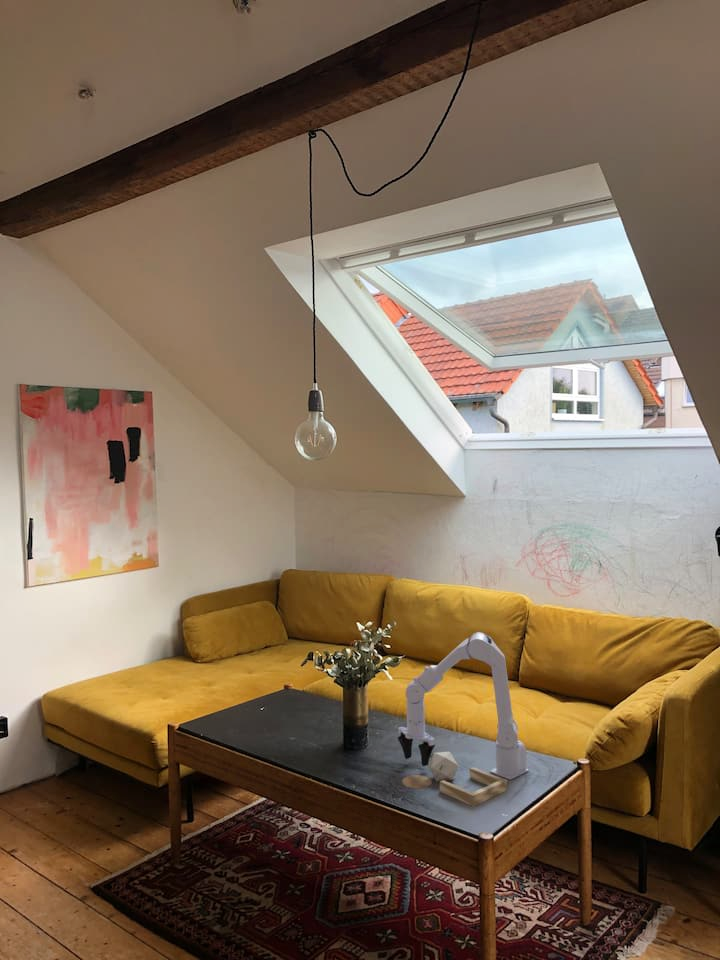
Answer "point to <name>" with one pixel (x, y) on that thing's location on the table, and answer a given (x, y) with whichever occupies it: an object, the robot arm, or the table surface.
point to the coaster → (417, 781)
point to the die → (443, 766)
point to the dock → (477, 797)
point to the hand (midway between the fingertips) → (416, 761)
